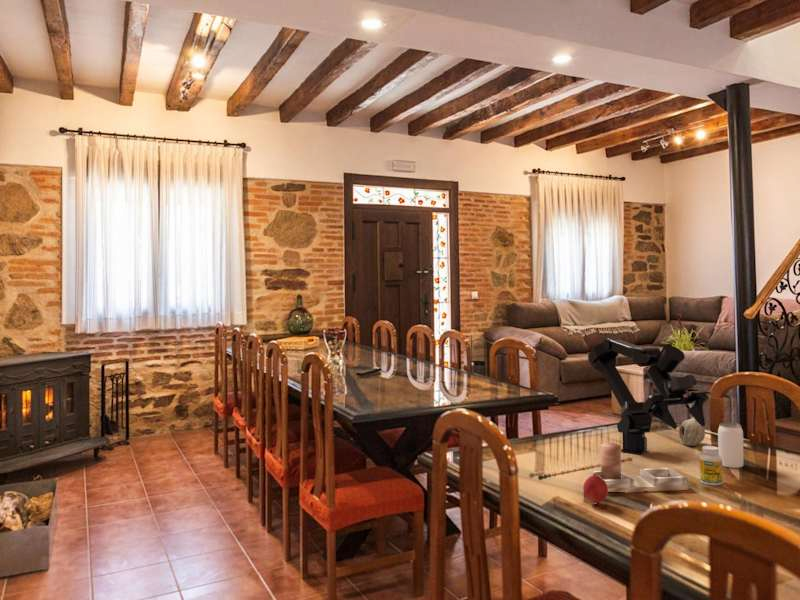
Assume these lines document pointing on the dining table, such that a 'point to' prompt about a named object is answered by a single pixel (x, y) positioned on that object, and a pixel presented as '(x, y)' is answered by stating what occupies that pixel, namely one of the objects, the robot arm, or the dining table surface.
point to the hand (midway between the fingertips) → (690, 427)
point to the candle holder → (645, 482)
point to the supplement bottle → (711, 466)
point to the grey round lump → (691, 432)
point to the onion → (595, 488)
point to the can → (730, 445)
